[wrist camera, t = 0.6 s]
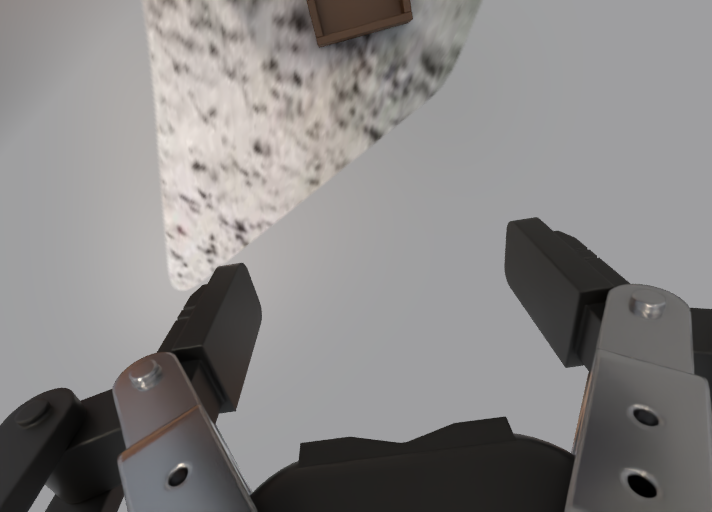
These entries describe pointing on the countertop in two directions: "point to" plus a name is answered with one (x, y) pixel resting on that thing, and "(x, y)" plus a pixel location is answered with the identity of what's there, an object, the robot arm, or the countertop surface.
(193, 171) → the countertop surface
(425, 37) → the countertop surface
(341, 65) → the countertop surface
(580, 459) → the robot arm
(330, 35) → the frame
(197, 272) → the countertop surface
